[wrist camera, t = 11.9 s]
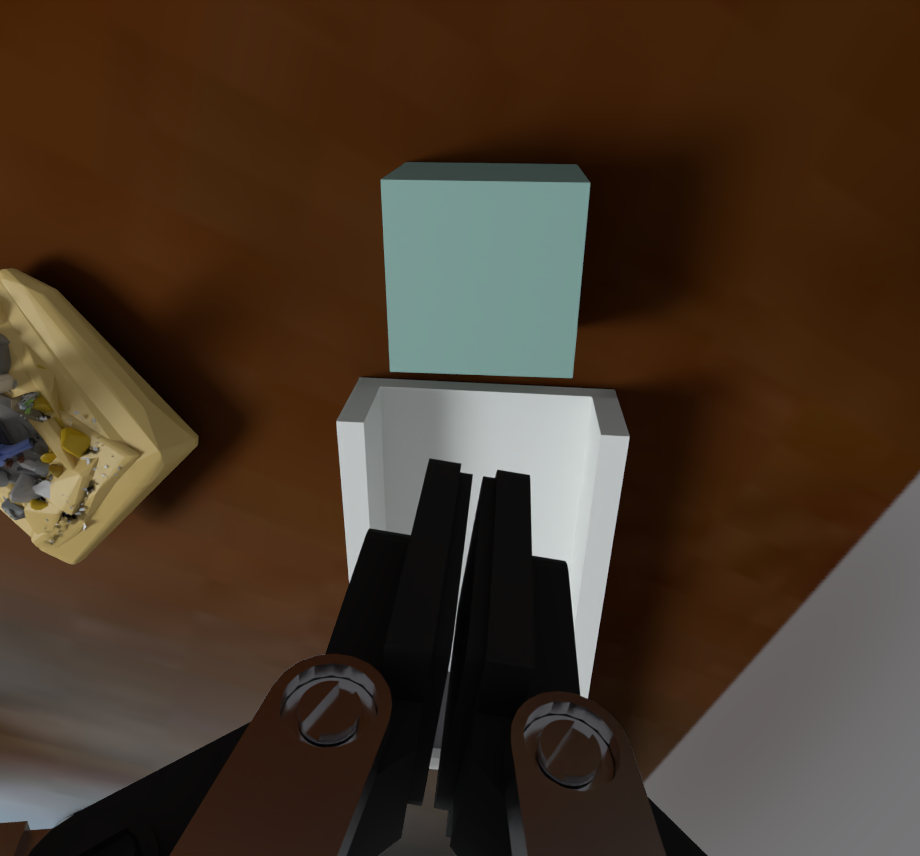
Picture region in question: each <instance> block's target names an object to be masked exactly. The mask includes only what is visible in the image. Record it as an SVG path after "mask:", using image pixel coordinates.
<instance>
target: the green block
mask: <svg viewBox="0 0 920 856" xmlns="http://www.w3.org/2000/svg"><path fill="white" fill-rule="evenodd" d="M589 194H590V181H589V180H588V179H587V177H586V176H585V175H584V173H583V172H582V171H581V169H580V168H579V166H578V165H577V164H515V163H437V162H406V163H404V164H403V165H401V166H400V167H398V168H397V169H395V170H394V171H393V172H391V173H390V174H388V175H387V176H385V177H384V178H382V179H381V195H382V216H383V236H384V256H385V277H386V297H387V317H388V338H389V358H390V372H414V373H442V374H471V375H499V376H527V377H555V378H573V367H574V356H575V346H576V335H577V324H578V313H579V302H580V291H581V280H582V270H583V259H584V248H585V237H586V226H587V215H588V205H589Z"/></svg>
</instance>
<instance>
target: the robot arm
mask: <svg viewBox="0 0 920 856" xmlns="http://www.w3.org/2000/svg"><path fill="white" fill-rule="evenodd" d="M460 470H461V463H455V462H449V461H443V460H437V459H431V458H430V459H429V462H428V466H427V470H426V474H425V478H424V482H423V486H422V491H421V495H420V499H419V503H418V507H417V512H416V516H415V520H414V524H413V528H412V532H411V535H407V534H401V533H395V532H389V531H383V530H377V529H371V528H369V529H368V531H367V533H366V536H365V539H364V542H363V544H362V547H361V550H360V553H359V556H358V559H357V562H356V565H355V568H354V571H353V574H352V577H351V580H350V583H349V586H348V589H347V592H346V595H345V598H344V601H343V604H342V607H341V610H340V613H339V615H338V618H337V621H336V624H335V627H334V630H333V633H332V636H331V639H330V642H329V645H328V648H327V651H326V654H325V655H316V656H313V657H310V658H308V659H305V660H302V661H299V662H298V663H296V664H295V665H293V666H292V667H290V668H289V669H287V670H286V671H284V672H283V674H282V675H281V676H280V677H279V678H278V680H277V681H276V682H275V683H274V684H273V686H272V687H271V689H270V691H269V692H268V694H267V696H266V697H265V699H264V701H263V702H262V704H261V706H260V707H259V709H258V711H257V712H256V714H255V715H254V717H253V719H252V720H251V722H250V723H248V724H246V725H244V726H242V727H240V728H238V729H236V730H234V731H232V732H230V733H228V734H227V735H225V736H223V737H221V738H219V739H217V740H215V741H213V742H211V743H209V744H207V745H205V746H204V747H202V748H200V749H198V750H196V751H194V752H192V753H190V754H188V755H186V756H184V757H182V758H181V759H179V760H177V761H175V762H173V763H171V764H169V765H167V766H165V767H163V768H161V769H159V770H158V771H156V772H154V773H152V774H150V775H148V776H146V777H144V778H142V779H140V780H138V781H136V782H135V783H133V784H131V785H129V786H127V787H125V788H123V789H121V790H119V791H117V792H115V793H113V794H112V795H110V796H108V797H106V798H104V799H102V800H100V801H98V802H96V803H94V804H92V805H90V806H89V807H87V808H85V809H83V810H81V811H79V812H77V813H75V814H74V815H71V816H69V817H67V818H65V819H64V820H62V821H60V822H59V823H58V824H57V825H56V826H55V827H54V828H53V829H39V830H30V828H29V825H28V822H27V821H22V822H8V823H0V856H377V855H379V854H380V853H381V852H383V851H384V850H385V849H387V848H388V847H389V846H391V845H392V844H393V843H395V842H396V841H397V840H399V839H400V838H401V835H402V829H403V824H404V818H405V812H406V807H407V804H413V805H419V806H422V802H423V797H424V792H425V787H426V782H427V776H428V771H429V766H430V761H431V756H432V751H433V746H434V741H435V735H436V730H437V725H438V720H439V715H440V710H441V705H442V700H443V694H444V689H445V684H446V679H447V674H448V668H449V663H450V657H451V650H452V643H453V651H452V659H451V667H450V676H449V684H448V693H447V701H446V709H445V718H444V726H443V735H442V743H441V751H440V760H439V768H438V776H437V785H436V793H435V802H434V808H437V809H443V810H448V819H447V829H446V836H447V837H451V842H450V847H451V848H452V849H453V851H454V852H455V853H456V855H457V856H707V855H706V854H705V853H704V852H703V851H702V850H701V849H700V848H699V847H698V846H697V845H696V844H695V843H694V842H693V841H692V840H691V839H690V838H689V837H688V836H687V835H686V834H685V833H684V832H683V831H682V830H681V829H680V828H679V827H678V826H677V825H676V824H675V823H674V822H673V821H672V820H671V819H670V818H669V817H668V816H667V815H666V814H665V813H664V812H662V811H661V810H660V809H659V808H658V807H657V806H656V805H655V804H654V803H653V802H652V801H651V800H650V799H649V798H648V797H647V794H646V791H645V788H644V784H643V781H642V778H641V775H640V772H639V769H638V766H637V763H636V759H635V756H634V753H633V750H632V747H631V744H630V742H629V740H628V738H627V736H626V734H625V732H624V730H623V728H622V727H621V726H620V724H619V723H618V722H617V721H616V720H615V719H614V717H613V716H612V715H611V714H610V713H609V712H608V711H606V710H605V709H604V708H602V707H601V706H600V705H598V704H597V703H596V702H594V701H592V700H589V699H587V698H585V697H583V696H580V686H579V675H578V665H577V654H576V644H575V634H574V623H573V613H572V602H571V592H570V581H569V571H568V565H567V563H566V561H562V560H556V559H550V558H544V557H538V556H532V528H531V484H530V475H527V474H521V473H515V472H509V471H503V470H497V472H496V475H495V478H492V477H486V476H483V479H482V483H481V488H480V494H479V499H478V504H477V509H476V514H475V520H474V525H473V530H472V535H471V540H470V546H469V551H468V556H467V561H466V567H465V572H464V577H463V582H462V587H461V593H460V598H459V604H458V610H457V603H458V595H459V586H460V578H461V570H462V562H463V553H464V545H465V537H466V528H467V520H468V512H469V503H470V495H471V487H472V479H473V474H468V473H462V472H460ZM456 611H457V617H456ZM455 620H456V625H455ZM454 628H455V634H454ZM453 636H454V642H453Z"/></svg>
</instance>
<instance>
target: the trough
mask: <svg viewBox="0 0 920 856" xmlns="http://www.w3.org/2000/svg"><path fill="white" fill-rule="evenodd" d="M336 423H337V435H338V448H339V460H340V473H341V485H342V498H343V510H344V523H345V535H346V548H347V561H348V573H349V583H350V580H351V577H352V574H353V571H354V568H355V565H356V562H357V559H358V556H359V553H360V550H361V547H362V544H363V542H364V539H365V536H366V533H367V531H368V529H369V528H371V529H377V530H383V531H389V532H395V533H401V534H407V535H411V532H412V528H413V524H414V520H415V516H416V512H417V507H418V503H419V499H420V495H421V491H422V486H423V482H424V478H425V474H426V470H427V466H428V462H429V459H430V458H431V459H437V460H443V461H449V462H455V463H461V470H460V472H462V473H468V474H473V479H472V487H471V495H470V503H469V512H468V520H467V528H466V537H465V545H464V553H463V562H462V570H461V578H460V586H459V595H458V603H457V610H458V604H459V598H460V593H461V587H462V582H463V577H464V572H465V567H466V561H467V556H468V551H469V546H470V540H471V535H472V530H473V525H474V520H475V514H476V509H477V504H478V499H479V494H480V488H481V483H482V479H483V476H486V477H492V478H495V475H496V472H497V470H503V471H509V472H515V473H521V474H527V475H530V484H531V528H532V556H538V557H544V558H550V559H556V560H562V561H566V563H567V565H568V571H569V581H570V592H571V602H572V613H573V623H574V634H575V644H576V654H577V665H578V675H579V686H580V696H583V697H585V698H587V699H588V695H589V688H590V682H591V676H592V670H593V663H594V657H595V651H596V645H597V638H598V632H599V626H600V620H601V613H602V607H603V601H604V595H605V588H606V582H607V576H608V570H609V563H610V557H611V551H612V545H613V538H614V532H615V526H616V519H617V513H618V507H619V501H620V494H621V488H622V482H623V476H624V469H625V463H626V457H627V451H628V444H629V438H630V436H629V433H628V429H627V426H626V423H625V420H624V417H623V414H622V411H621V408H620V404H619V401H618V398H617V395H616V392H615V390H614V389H593V388H572V387H551V386H530V385H509V384H488V383H467V382H446V381H426V380H405V379H384V378H363V377H360V378H359V380H358V382H357V384H356V385H355V387H354V389H353V391H352V393H351V395H350V397H349V399H348V400H347V402H346V404H345V406H344V408H343V410H342V412H341V414H340V415H339V417H338V419H337V421H336ZM456 617H457V611H456ZM455 625H456V620H455ZM454 634H455V628H454ZM453 642H454V636H453ZM452 651H453V643H452V650H451V657H450V663H449V668H448V674H447V679H446V684H445V689H444V694H443V700H442V705H441V710H440V715H439V720H438V725H437V730H436V735H435V741H434V746H433V751H432V756H431V761H430V766H429V769H438V768H439V760H440V751H441V743H442V735H443V726H444V718H445V709H446V701H447V693H448V684H449V676H450V667H451V659H452Z"/></svg>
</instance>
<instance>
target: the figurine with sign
mask: <svg viewBox="0 0 920 856" xmlns="http://www.w3.org/2000/svg"><path fill="white" fill-rule="evenodd" d="M198 437H199V436H198V435H197V434H196V433H195V432H194V431H193V430H192V429H191V428H190V427H189V426H188V425H187V424H186V423H185V422H184V421H183V420H182V418H181V417H180V416H179V415H178V414H177V413H176V412H175V411H174V410H173V409H172V408H171V407H170V406H169V405H168V404H167V403H166V402H165V401H164V400H163V399H162V398H161V397H160V396H159V395H158V394H157V393H156V392H155V391H154V389H153V388H152V387H151V386H150V385H149V384H148V383H147V382H146V381H145V380H144V379H143V378H142V377H141V376H140V375H139V374H138V373H137V372H136V371H135V370H134V369H133V368H132V367H131V366H130V365H129V364H128V363H127V361H126V360H125V359H124V358H123V357H122V356H121V355H120V354H119V353H118V352H117V351H116V350H115V349H114V348H113V347H112V346H111V345H110V344H109V343H108V342H107V341H106V340H105V339H104V338H103V337H102V336H101V335H100V334H99V332H98V331H97V330H96V329H95V328H94V327H93V326H92V325H91V324H90V323H89V322H88V321H87V320H86V319H85V318H84V317H83V316H82V315H81V314H80V313H79V312H78V311H77V310H76V309H75V308H74V307H73V306H72V304H71V303H70V302H69V301H68V300H67V299H66V298H65V297H64V296H63V295H62V294H61V293H60V292H59V291H58V290H57V289H55V288H53V287H51V286H49V285H47V284H45V283H43V282H41V281H39V280H37V279H35V278H33V277H31V276H29V275H27V274H25V273H23V272H21V271H19V270H17V269H13V268H9V269H2V270H0V509H1V510H2V511H3V512H4V513H5V514H6V515H7V516H8V517H10V518H11V519H12V520H13V521H14V522H15V523H16V524H17V525H18V526H19V527H20V528H22V529H23V530H24V531H25V532H26V533H27V534H28V535H29V536H30V537H31V540H32V542H33V543H34V544H35V545H36V546H37V547H39V549H40V550H41V551H43V552H46V553H48V554H50V555H52V556H54V557H56V558H58V559H60V560H62V561H64V562H66V563H69V564H77V563H78V562H80V561H82V560H83V559H85V558H86V557H87V556H88V555H89V554H90V553H91V552H92V551H93V550H94V549H95V548H96V547H97V546H98V545H99V544H100V543H101V542H102V541H103V540H104V539H105V538H106V537H107V536H108V535H109V534H110V533H111V532H112V531H113V530H114V529H115V528H116V527H117V526H118V525H119V524H120V523H121V522H122V521H123V520H124V519H125V518H126V517H127V516H128V515H129V514H130V513H131V512H132V511H133V510H134V509H135V508H136V507H137V506H138V505H139V504H140V503H141V502H142V501H143V500H144V499H145V498H146V497H147V496H148V495H149V494H150V493H151V492H152V491H153V490H154V489H155V488H156V487H157V486H158V485H159V484H160V483H161V482H162V481H163V480H164V479H165V478H166V477H167V476H168V475H169V474H170V473H171V472H172V471H173V470H174V469H175V468H176V467H177V466H178V465H179V464H180V463H181V462H182V461H183V460H184V459H185V458H186V457H187V456H188V455H189V454H190V453H191V452H192V451H193V450H194V449H195V448H196V447H197V446H198Z"/></svg>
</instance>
